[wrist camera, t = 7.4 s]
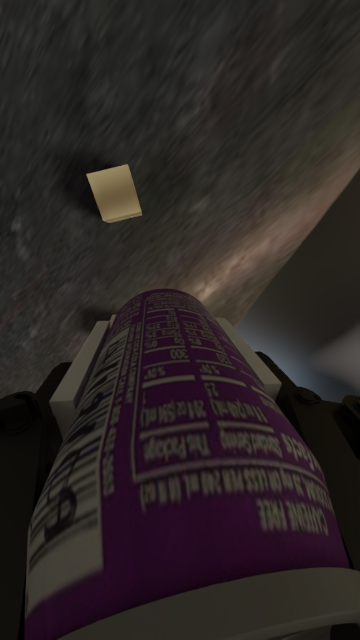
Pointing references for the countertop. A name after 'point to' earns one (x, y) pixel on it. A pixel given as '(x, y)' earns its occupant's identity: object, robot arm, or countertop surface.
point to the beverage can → (183, 499)
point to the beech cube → (115, 193)
